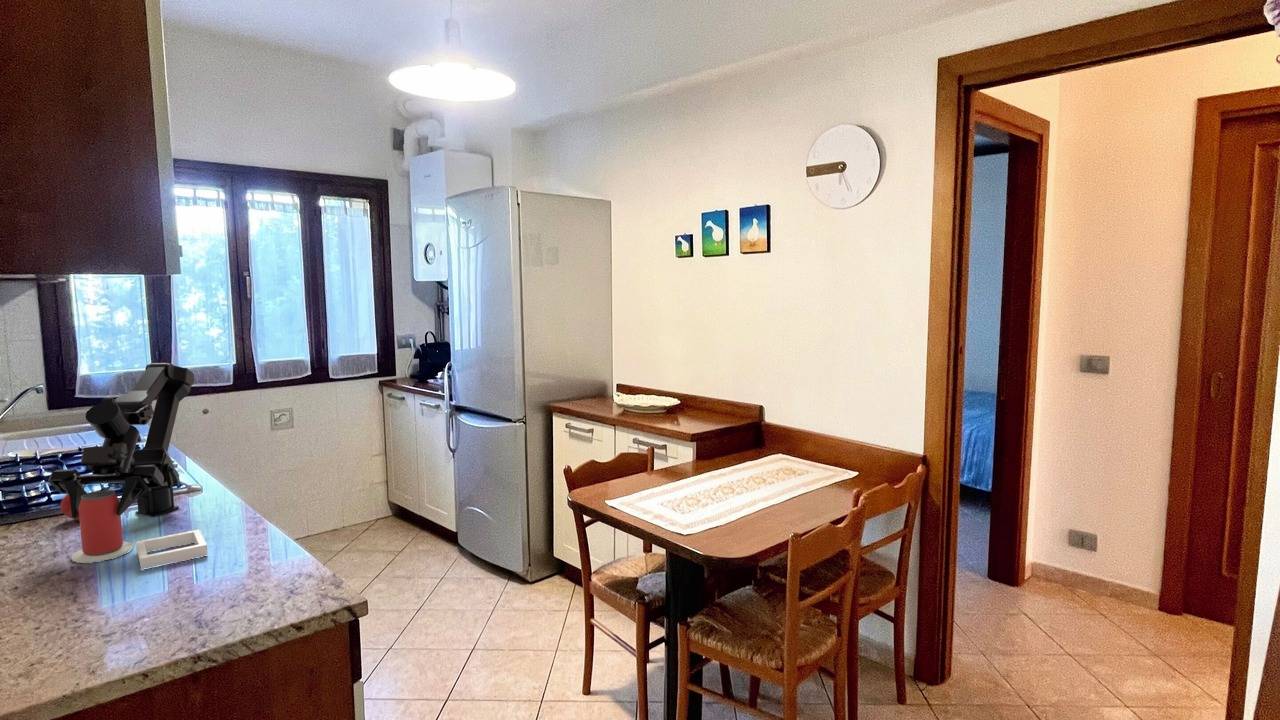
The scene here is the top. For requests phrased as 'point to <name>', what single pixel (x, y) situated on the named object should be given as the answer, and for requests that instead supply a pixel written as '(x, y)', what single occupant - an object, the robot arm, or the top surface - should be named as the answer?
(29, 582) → the top surface
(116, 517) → the beer can
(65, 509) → the onion
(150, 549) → the collar
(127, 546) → the coaster
